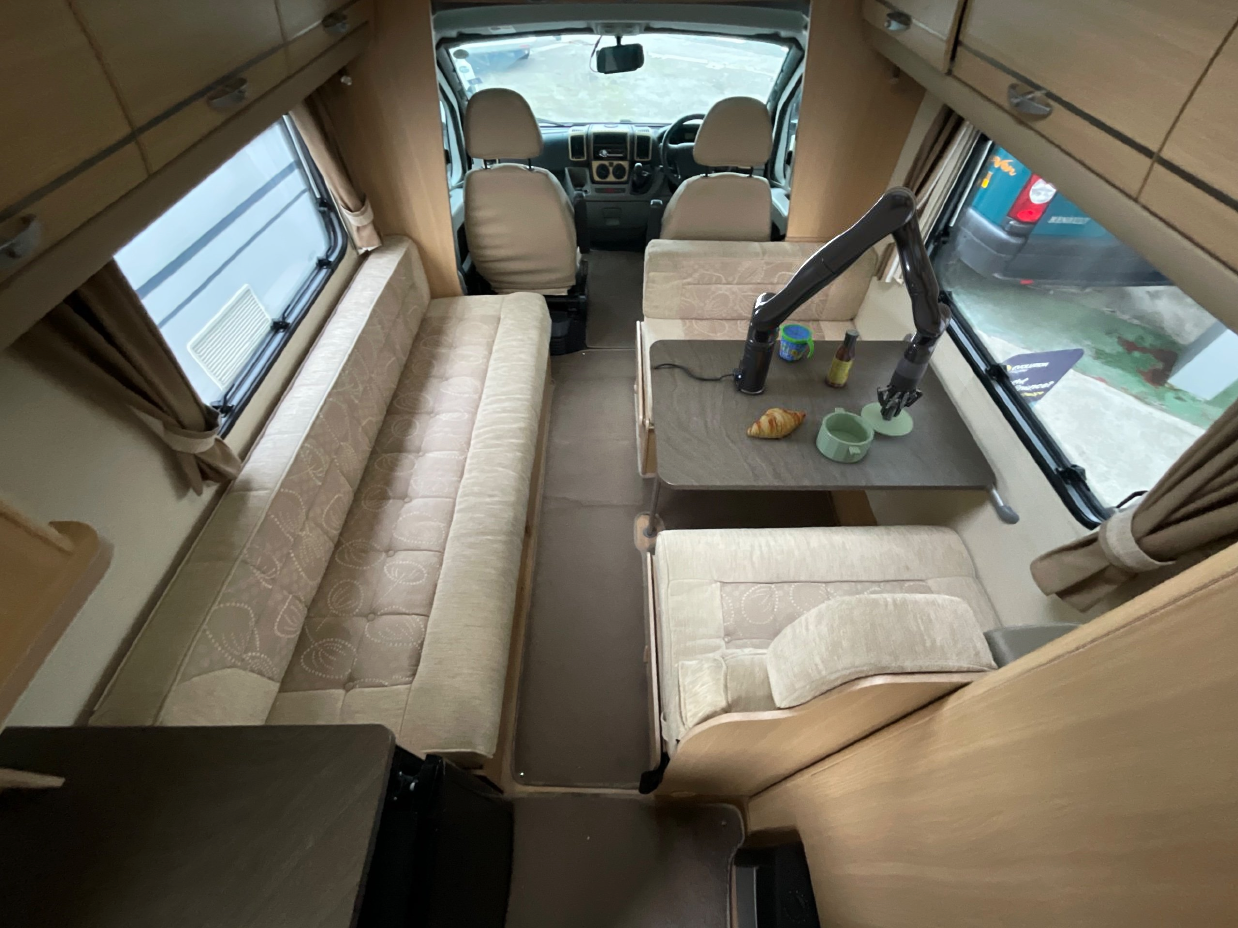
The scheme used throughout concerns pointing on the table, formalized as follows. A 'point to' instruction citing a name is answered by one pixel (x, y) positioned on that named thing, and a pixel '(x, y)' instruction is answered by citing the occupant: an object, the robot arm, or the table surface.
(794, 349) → the snack cup
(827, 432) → the pot
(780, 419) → the croissant
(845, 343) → the sauce bottle
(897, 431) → the pot lid
